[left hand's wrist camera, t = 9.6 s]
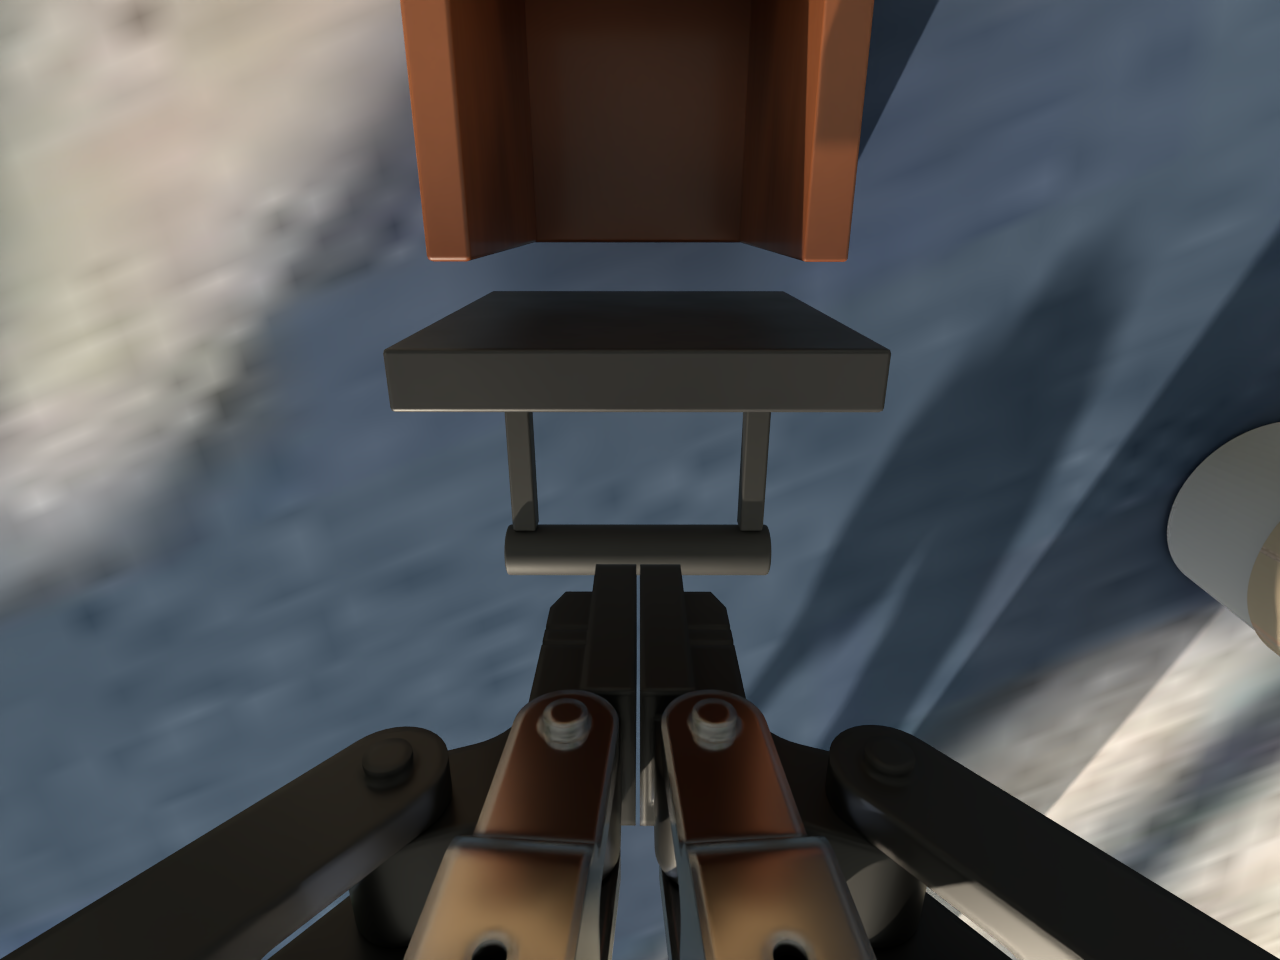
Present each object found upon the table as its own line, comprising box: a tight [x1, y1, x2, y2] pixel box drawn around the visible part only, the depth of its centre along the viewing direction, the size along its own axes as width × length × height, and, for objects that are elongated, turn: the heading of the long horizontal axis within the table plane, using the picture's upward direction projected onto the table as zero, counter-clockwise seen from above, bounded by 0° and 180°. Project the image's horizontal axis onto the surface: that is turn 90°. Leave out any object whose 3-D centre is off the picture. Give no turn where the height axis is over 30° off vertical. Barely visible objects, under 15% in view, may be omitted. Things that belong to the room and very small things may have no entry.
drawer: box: [383, 0, 891, 575], centre depth 16 cm, size 23×9×10 cm, turn 0°
